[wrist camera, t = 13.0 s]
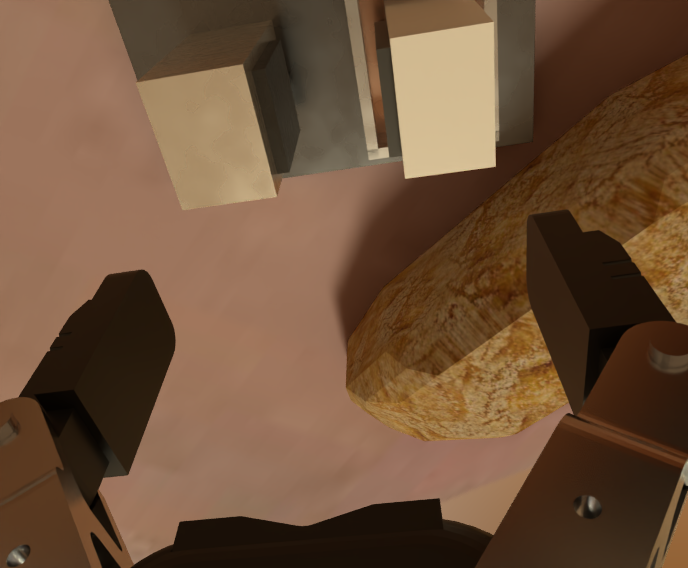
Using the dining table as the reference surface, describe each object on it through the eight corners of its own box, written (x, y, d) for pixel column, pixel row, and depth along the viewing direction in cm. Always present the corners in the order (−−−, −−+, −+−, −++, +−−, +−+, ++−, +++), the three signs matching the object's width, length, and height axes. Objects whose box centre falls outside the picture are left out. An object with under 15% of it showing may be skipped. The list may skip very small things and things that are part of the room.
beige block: (461, -14, 30) (493, 21, 22) (466, 102, 33) (495, 166, 26) (372, 1, 30) (374, 41, 23) (385, 114, 33) (391, 180, 26)
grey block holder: (113, -18, 31) (18, 21, 23) (529, -100, 29) (599, -90, 20) (184, 183, 38) (132, 272, 30) (527, 132, 35) (578, 213, 27)
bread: (411, 409, 50) (420, 513, 42) (315, 342, 46) (304, 443, 38) (850, 105, 34) (1002, 176, 26) (762, -36, 30) (909, -5, 22)
